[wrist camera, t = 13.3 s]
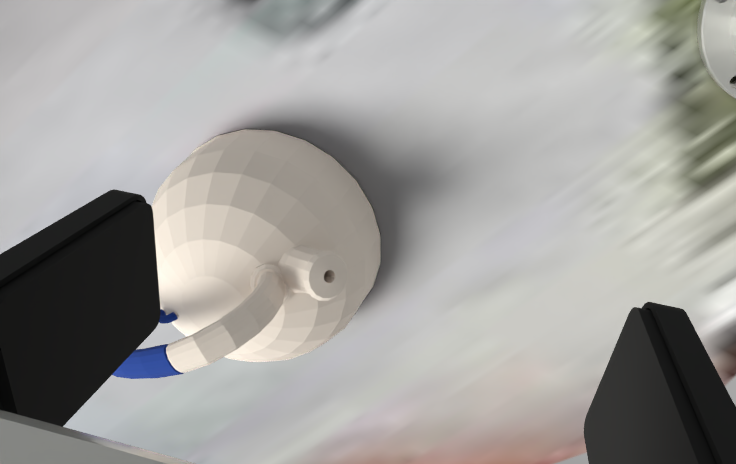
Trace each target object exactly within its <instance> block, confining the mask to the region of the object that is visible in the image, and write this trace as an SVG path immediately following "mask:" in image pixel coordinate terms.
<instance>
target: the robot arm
mask: <svg viewBox="0 0 736 464" xmlns="http://www.w3.org/2000/svg"><path fill="white" fill-rule="evenodd" d="M697 40H698V45H699V51H700V56H701V58H702V60H703V63H704V65H705V67H706V69H707V72H708V73H709V74H710V76H711V77H712V78H713V80H714V81H715V82H716V83H717V85H718V86H719V87H721V88H722V89H723V90H724V91H726V92H727V93H728V94H729V95H731V96H732V97H734V98H736V80H735V81H734V82H733V83H730V80H731V78H732V77H734V76H736V0H702V1H701V6H700V10H699V15H698V24H697ZM160 314H161V310H160V297H159V284H158V271H157V258H156V245H155V232H154V219H153V210H152V207H151V205H149V204H147V203H146V200H145V198H144V197H143V196H142V195H138V194H133V193H129V192H124V191H119V190H111V191H108V192H107V193H105V194H103V195H101V196H100V197H98V198H96V199H94V200H93V201H91V202H89V203H88V204H86V205H84V206H82V207H81V208H79V209H77V210H76V211H74V212H72V213H70V214H69V215H67V216H65V217H64V218H62V219H60V220H58V221H57V222H55V223H53V224H52V225H50V226H48V227H46V228H45V229H43V230H41V231H40V232H38V233H36V234H34V235H33V236H31V237H29V238H28V239H26V240H24V241H22V242H21V243H19V244H17V245H16V246H14V247H12V248H10V249H9V250H7V251H5V252H4V253H2V254H0V464H195V463H191V462H187V461H184V460H180V459H177V458H173V457H170V456H166V455H163V454H159V453H155V452H152V451H148V450H145V449H141V448H137V447H134V446H130V445H126V444H123V443H119V442H116V441H112V440H108V439H105V438H101V437H97V436H94V435H90V434H86V433H83V432H79V431H76V430H72V429H68V428H65V427H63V426H64V425H65V424H66V422H67V421H68V420H69V419H70V418H71V417H72V416H73V415H74V414H75V413H76V412H77V411H78V410H79V409H80V408H81V407H82V406H83V405H84V403H85V402H86V401H87V400H88V399H89V398H90V397H91V396H92V395H93V394H94V393H95V392H96V391H97V390H98V389H99V388H100V387H101V386H102V384H103V383H104V382H105V381H106V380H107V379H108V378H109V377H110V376H111V375H112V374H113V373H114V372H115V371H116V370H117V369H118V368H119V366H120V365H121V364H122V363H123V362H124V361H125V360H126V359H127V358H128V357H129V356H130V355H131V354H132V353H133V352H134V351H135V350H136V349H137V347H138V346H139V345H140V344H141V343H142V342H143V341H144V340H145V339H146V338H147V337H148V336H149V335H150V334H151V333H152V332H153V331H154V329H155V328H156V326H157V325H158V322H159V319H160ZM584 438H585V443H586V449H587V455H588V461H589V464H736V406H735V405H734V403H733V401H732V399H731V398H730V396H729V394H728V392H727V390H726V388H725V386H724V384H723V382H722V380H721V378H720V377H719V375H718V373H717V371H716V369H715V367H714V365H713V363H712V361H711V359H710V357H709V356H708V354H707V352H706V350H705V348H704V346H703V344H702V342H701V340H700V338H699V336H698V335H697V333H696V331H695V329H694V327H693V325H692V323H691V321H690V319H689V317H688V315H687V314H686V312H685V311H684V310H683V309H680V308H675V307H671V306H666V305H661V304H656V303H652V302H647V303H645V304H644V306H643V307H642V309H641V308H637V307H634V308H633V309H632V310H631V311H630V313H629V315H628V317H627V320H626V322H625V325H624V327H623V329H622V332H621V334H620V337H619V339H618V341H617V344H616V346H615V348H614V351H613V353H612V356H611V358H610V360H609V363H608V365H607V368H606V370H605V372H604V375H603V377H602V380H601V382H600V384H599V387H598V389H597V391H596V394H595V396H594V399H593V401H592V403H591V406H590V408H589V411H588V413H587V416H586V419H585V424H584Z"/></svg>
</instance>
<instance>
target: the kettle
mask: <svg viewBox="0 0 736 464" xmlns="http://www.w3.org/2000/svg"><path fill="white" fill-rule="evenodd" d="M152 210H153V219H154V232H155V245H156V258H157V271H158V284H159V297H160V308H161V314H160V319H159V322H160V323H170V322H172V324H173V325H174V326H175V327H176V328H177V329H178V330H180V331H181V332H182V333H183V334H184V335H185V336H186V337H185V338H182V339H180V340H178V341H175V342H173V343H170V344H165V345H160V346H155V347H150V348H146V349H138V350H135V351H134V352H133V353H132V354H131V355H130V356H129V357H128V358H127V359H126V360H125V361H124V362H123V363H122V364H121V365H120V366H119V368H118V369H117V370H116V371H115V372H114V373H113V374H112V375H114V376H116V377H123V378H131V379H138V378H160V377H167V376H173V375H179V374H183V373H185V372H188V371H192V370H195V369H198V368H201V367H204V366H207V365H210V364H212V363H213V362H215V361H217V360H219V359H221V358H223V357H226V358H229V359H234V360H241V361H248V362H268V361H279V360H289V359H292V358H295V357H298V356H300V355H303V354H306V353H308V352H311V351H312V350H314V349H316V348H318V347H319V346H321V345H323V344H324V343H326V342H327V341H329V340H330V339H331V338H333V337H334V336H335V335H337V334H338V333H339V332H341V331H342V330H343V329H345V327H346V326H347V324H348V323H349V322H350V320H351V319H352V317H353V316H354V314H355V313H356V311H357V310H358V309H359V307H360V305H361V304H362V302H363V300H364V299H365V298H366V296H367V295H368V293H369V292H370V290H371V289H372V287H373V286H374V282H375V279H376V276H377V272H378V269H379V266H380V263H381V250H380V232H379V229H378V225H377V222H376V219H375V215H374V212H373V208H372V206H371V204H370V203H369V201H368V199H367V198H366V196H365V195H364V193H363V191H362V190H361V188H360V186H359V185H358V183H357V181H356V180H355V179H354V178H353V177H352V176H351V175H350V174H349V173H348V172H347V171H346V170H345V169H344V168H343V167H342V166H341V165H340V164H339V163H338V162H337V161H336V160H335V159H334V158H333V157H331V156H330V155H328V154H327V153H325V152H323V151H322V150H320V149H318V148H317V147H315V146H314V145H312V144H310V143H309V142H307V141H305V140H302V139H299V138H296V137H293V136H290V135H287V134H283V133H280V132H277V131H269V130H248V129H244V130H240V131H236V132H232V133H228V134H224V135H219V136H216V137H215V138H213V139H212V140H210V141H208V142H207V143H205V144H203V145H202V146H200V147H199V148H197V149H195V150H194V151H193V153H192V154H191V155H190V156H189V157H188V158H187V159H186V160H185V161H183V162H182V163H181V164H180V165H179V166H178V167H177V168H175V169H174V170H173V172H172V173H171V174H170V175H169V177H168V178H167V179H166V180H165V181H164V183H163V184H162V185H161V186H160V187H159V189H158V191H157V194H156V196H155V199H154V202H153V205H152Z"/></svg>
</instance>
